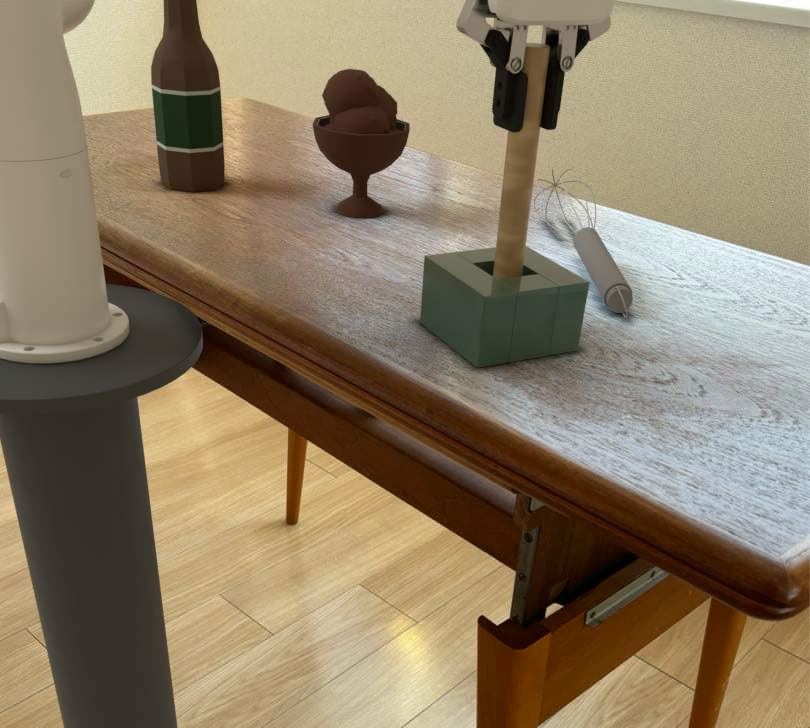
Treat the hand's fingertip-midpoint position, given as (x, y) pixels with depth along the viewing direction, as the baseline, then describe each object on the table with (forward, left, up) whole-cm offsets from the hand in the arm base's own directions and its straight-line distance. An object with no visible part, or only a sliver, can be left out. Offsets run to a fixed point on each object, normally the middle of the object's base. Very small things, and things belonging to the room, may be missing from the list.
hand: (524, 125), depth 71 cm
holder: (0, 0, -17) cm, 17 cm away
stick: (0, 0, -15) cm, 15 cm away
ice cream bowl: (+4, +37, -17) cm, 41 cm away
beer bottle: (-11, +53, -17) cm, 57 cm away
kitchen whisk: (+20, +14, -17) cm, 30 cm away
